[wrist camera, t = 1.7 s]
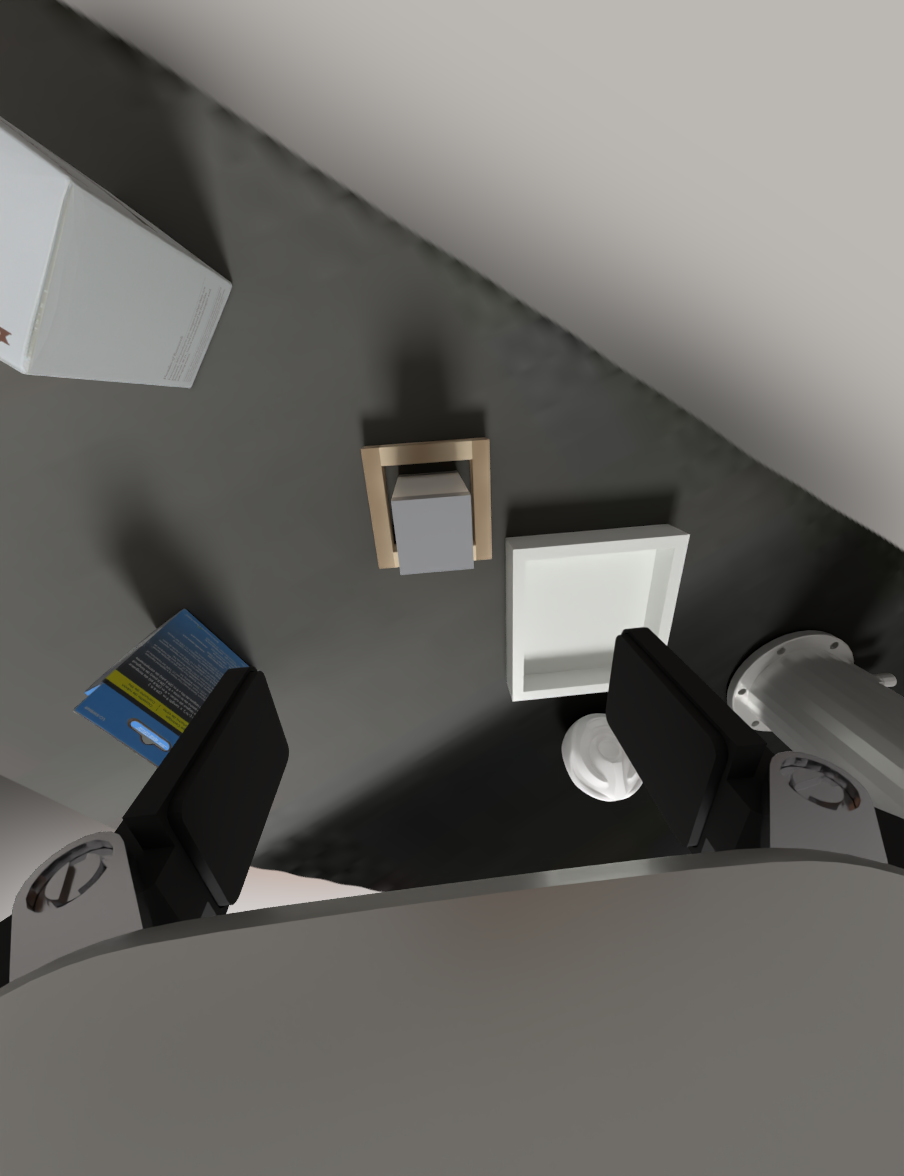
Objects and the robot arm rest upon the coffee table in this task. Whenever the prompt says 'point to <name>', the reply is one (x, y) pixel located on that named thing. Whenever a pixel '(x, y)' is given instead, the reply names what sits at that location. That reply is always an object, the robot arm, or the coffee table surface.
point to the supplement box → (94, 279)
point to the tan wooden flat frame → (427, 453)
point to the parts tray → (584, 603)
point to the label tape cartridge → (159, 686)
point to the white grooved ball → (598, 760)
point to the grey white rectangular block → (432, 522)
